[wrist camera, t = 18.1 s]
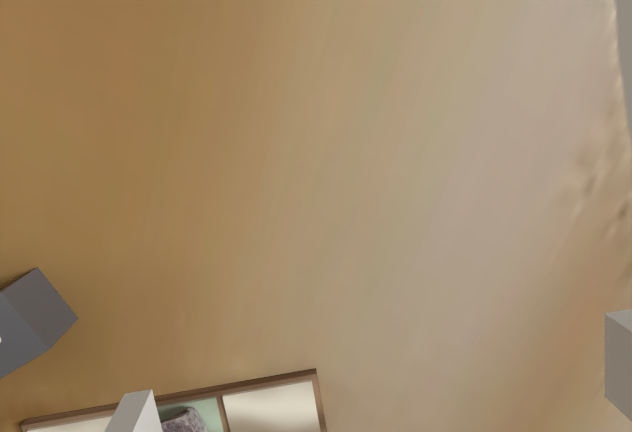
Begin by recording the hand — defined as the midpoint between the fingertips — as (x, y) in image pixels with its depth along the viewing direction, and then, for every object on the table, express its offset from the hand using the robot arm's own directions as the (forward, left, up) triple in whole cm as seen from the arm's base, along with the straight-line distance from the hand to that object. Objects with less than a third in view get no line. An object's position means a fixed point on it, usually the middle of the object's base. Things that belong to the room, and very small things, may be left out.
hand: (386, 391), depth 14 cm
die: (+7, -28, -32) cm, 43 cm away
